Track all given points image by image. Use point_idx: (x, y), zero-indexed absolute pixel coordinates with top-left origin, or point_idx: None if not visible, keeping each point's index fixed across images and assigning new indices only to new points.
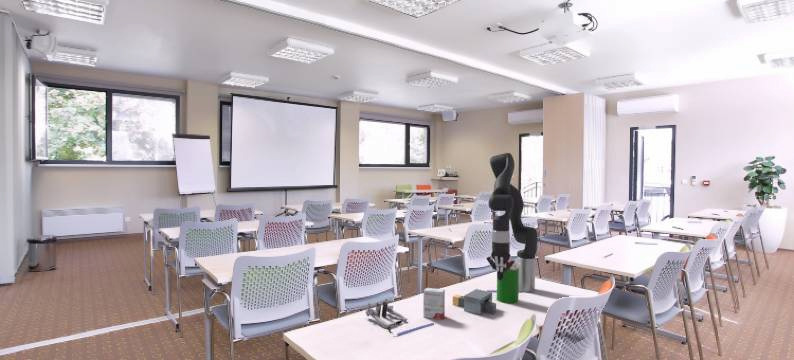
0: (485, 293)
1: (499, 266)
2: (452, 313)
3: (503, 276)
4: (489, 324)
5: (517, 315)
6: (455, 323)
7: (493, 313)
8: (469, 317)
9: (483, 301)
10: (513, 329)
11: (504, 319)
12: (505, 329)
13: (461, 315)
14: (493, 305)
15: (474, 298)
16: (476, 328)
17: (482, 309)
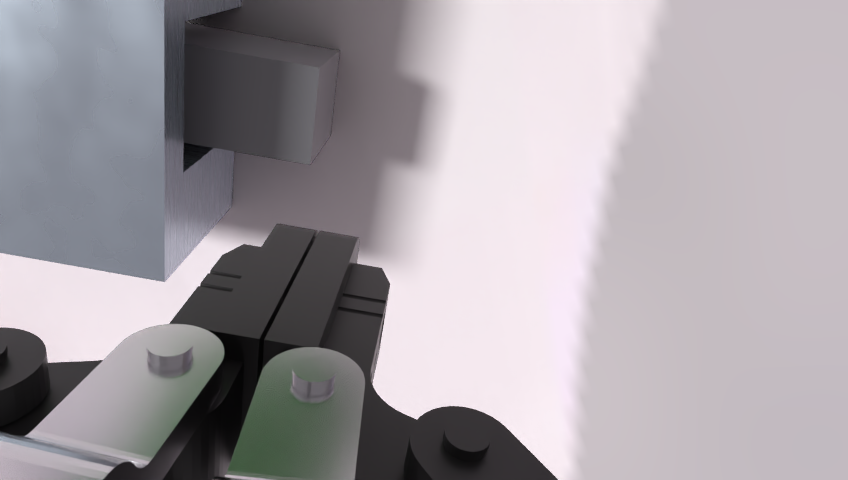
0: (105, 13)
1: (119, 456)
2: (7, 276)
3: (376, 360)
4: None
5: (575, 38)
6: None
7: (331, 123)
8: (174, 299)
9: (186, 186)
10: (572, 381)
11: (465, 211)
12: (512, 404)
13: (95, 286)
14: (311, 150)
15: (83, 263)
16: None
17: (218, 179)
